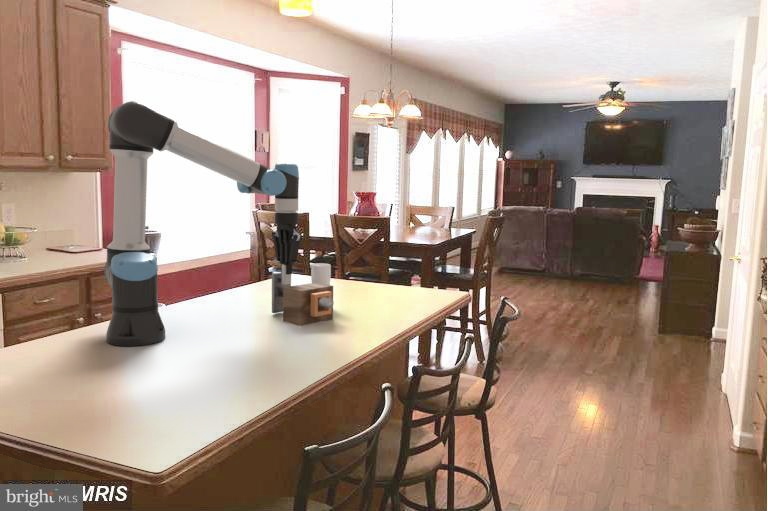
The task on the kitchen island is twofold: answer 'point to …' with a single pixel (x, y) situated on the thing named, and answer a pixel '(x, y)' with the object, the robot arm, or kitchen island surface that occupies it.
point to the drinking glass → (321, 273)
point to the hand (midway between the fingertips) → (286, 283)
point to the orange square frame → (314, 303)
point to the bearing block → (303, 303)
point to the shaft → (278, 295)
